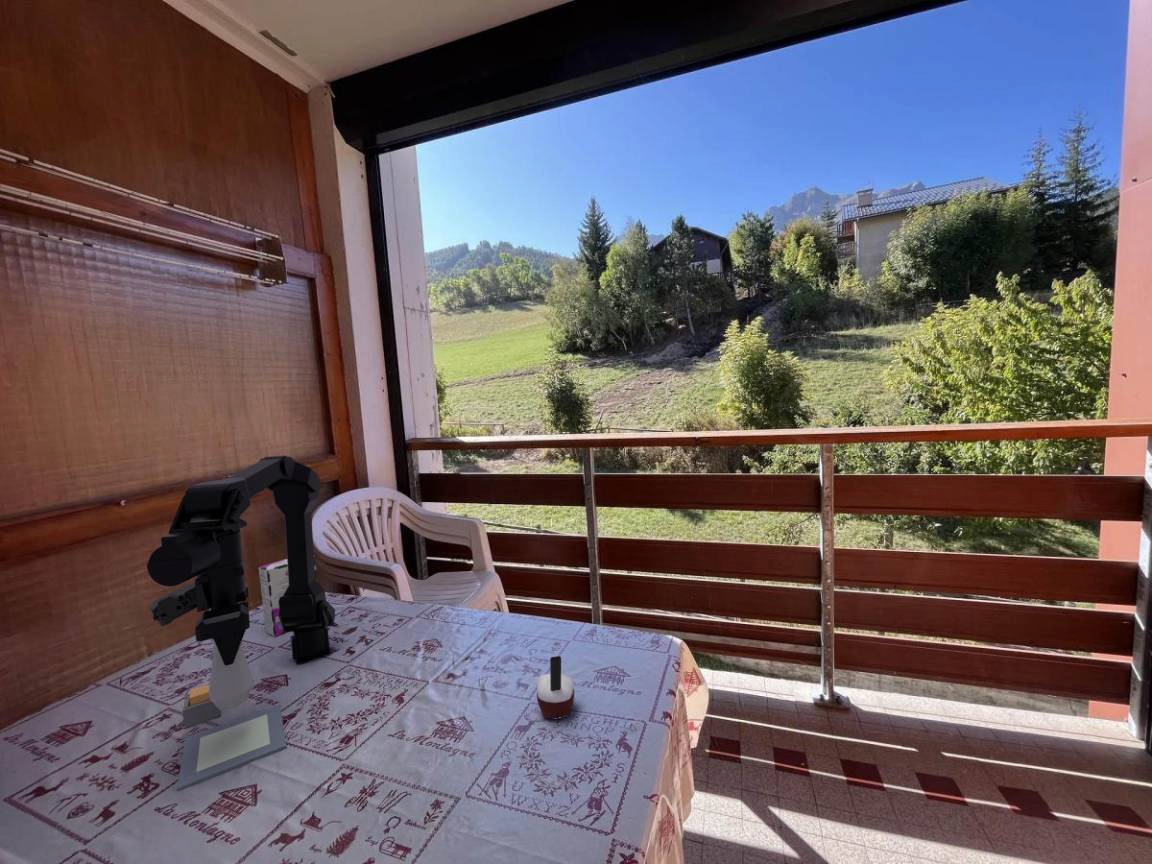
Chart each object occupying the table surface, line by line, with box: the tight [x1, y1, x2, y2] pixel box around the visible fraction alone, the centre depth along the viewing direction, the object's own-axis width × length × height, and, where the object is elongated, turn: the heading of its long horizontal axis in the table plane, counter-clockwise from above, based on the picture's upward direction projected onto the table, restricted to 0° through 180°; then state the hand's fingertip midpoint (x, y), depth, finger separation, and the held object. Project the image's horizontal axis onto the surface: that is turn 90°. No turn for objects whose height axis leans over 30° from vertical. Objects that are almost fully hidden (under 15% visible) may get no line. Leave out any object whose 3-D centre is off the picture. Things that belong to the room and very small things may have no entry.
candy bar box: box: [258, 555, 318, 638], centre depth 116 cm, size 11×5×16 cm, turn 147°
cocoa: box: [536, 655, 575, 719], centre depth 78 cm, size 10×6×12 cm, turn 167°
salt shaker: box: [209, 639, 255, 711], centre depth 75 cm, size 6×6×13 cm
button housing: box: [182, 694, 222, 730], centre depth 82 cm, size 5×5×3 cm
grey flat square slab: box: [176, 704, 287, 791], centre depth 75 cm, size 13×13×1 cm
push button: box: [189, 683, 210, 706], centre depth 82 cm, size 3×3×3 cm
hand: (229, 659), depth 75 cm, fingers closed on salt shaker, 3 cm apart
